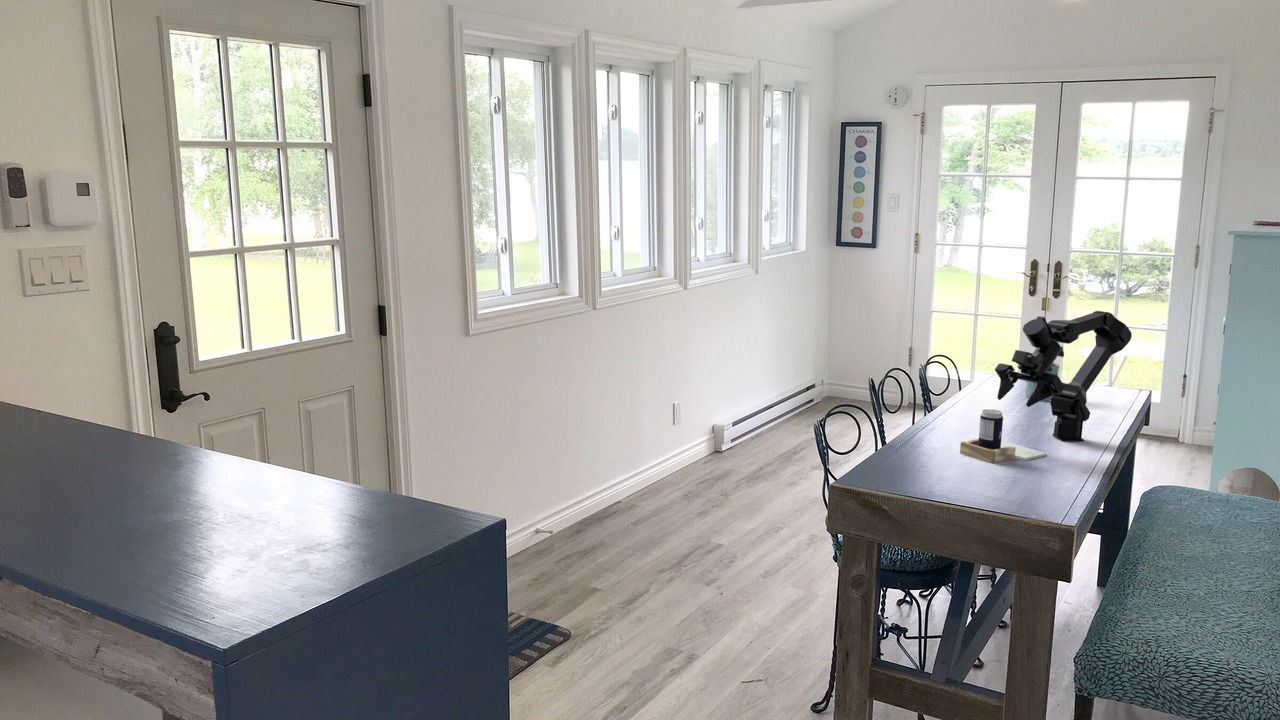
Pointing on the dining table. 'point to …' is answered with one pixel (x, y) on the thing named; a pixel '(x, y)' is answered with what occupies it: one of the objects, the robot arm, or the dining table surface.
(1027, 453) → the sage pad
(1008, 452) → the frame
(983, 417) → the beverage can
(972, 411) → the dining table surface
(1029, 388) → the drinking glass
